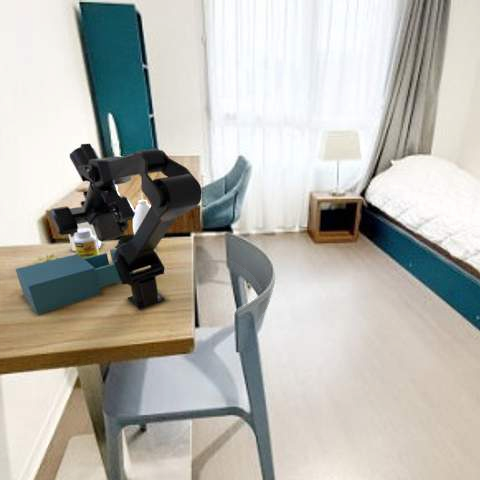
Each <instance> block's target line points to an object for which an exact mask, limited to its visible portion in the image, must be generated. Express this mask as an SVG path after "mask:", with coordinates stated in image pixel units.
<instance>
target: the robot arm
mask: <svg viewBox="0 0 480 480" xmlns="http://www.w3.org/2000/svg"><path fill="white" fill-rule="evenodd" d="M69 159H70V161H71V162H72V164H73V166H74V167H75V170H76V172H77V173H78V175H79V177H80V179H81V182H89V184H88V188H87V190H85V191H83V192H82V195H83V197H84V200H82V201H80V207H82V208H83V212H82V213H77V214H72V212H71V211H70V209H71V208H70V206H65V205H64V206H60V207H54V208H51V209H50V210H49V213H48V216H49V218H50V220H51V222H52V223H53V225H54V228H55V230H56V231H57V234H58V235H60V236H65V235H68V234H70V236H71V237H73V236H74V233H77V232H78V231H77V230H78V225H77V224H81V223H86V222H88V223H89V225H93V227H94V230H95V232H96V235H97V238H98V240H99V241H101V242H106V241H109V240H113V239H116V238H119V237H120V236H124V235H125V232H126V231H128V229H129V224H128V223H129V221H133V218H134V215H135V209H134V207H133V205H132V203H131V202H130V200H129V197H127V196H124V195H122V196H121V195H120V192H119V190H118V189H119V187H118V185H123V184H126V183H128V182H130V181H131V180H132V177H134V176H140V178H141V181H140V183H141V185H140V186H141V187H140V188H141V192H142V194H144V195H145V197H146V198H147V199H148V200H147V201H149V203H150V206H151V207H150V209H149V211H148V212H147V214H146V216H145V218H144V219H143V221H142V223H141V225H140V226H139V228H138V230H137V232H136V233H135V235H134V234H133V235H129V236H125V237H121V238H119V240H118V241H117V244H116V245H115V246H114V249H115V250H116V251H115V255H114V264H115V266H116V269H117V272H118V275H119V277H120V279H121V281H120V282H121V284H122V285H128V286H130V290H131V296H129V297H127V301H128V302H130V304H132V305H133V306H135V308H136V309H138V310H143V309H146V308H149V307H151V306H154V305H156V304H159V303H162V302H164V301H165V302H166V298H165V297H164V296H163V295H162V294H160V293H159V290H158V289H159V288H158V283H157V277H158V276H161V275H164V274H165V268H166V267H165V265H164V263H163V262H162V260H161V259H160V257H159V255H158V253H157V251H156V247H157V246H158V245H159V244H160V243H161V241H162V239H163V238H164V236H165V235H166V233H167V232H168V231H169V229H170V228H171V227H172V225H173V224H174V222H175V221H176V219H178V218H179V217H181V216H183V215H185V214H187V213H189V212H190V211H192V210H194V209H195V208H196V207H197V206H199V205H200V203H201V201H202V193H203V191H202V186H201V184H200V182H199V181H198V180H197V178H195V176H194V175H193V174H192V172H190V170H189V169H188V168H187V167H186V166H184V165H183V164H181V163H179V162H177V161H175V160H173V159H172V158H170V157H169V156H168V155H167V154H166V152H165V151H164V150H162V149H159V148H151V149H141V150H137V151H136V152H133V153H131V154H128V155H124V156H120V155H119V156H109V157H100V156H99V154H98V153H97V151H96V149H95V148H94V147H93V146H92V145H91V143H81V144H80V147H77V148H75V149H74V150H72V152H70V153H69ZM154 173H155V174H156V173H162V175H163V176H165V177H159V178H154V179H152V178H151V176H150V175H149V174H154ZM83 219H84V220H83ZM68 236H69V235H68ZM132 271H133V273H131V274H130V272H132Z"/></svg>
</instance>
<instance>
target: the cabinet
mask: <svg viewBox="0 0 480 480" xmlns="http://www.w3.org/2000/svg"><path fill="white" fill-rule="evenodd" d="M15 273H16V275H17V278H18V282H19V285H20V287H21V290H22V293H23V296H24V297H25V299H26V300H27V302H28V303H29V305H30V306H31V308H32V309H33V311H34V312H35V314H36V315H37V316H39V315H41V314H45V313H48V312H50V311H53V310H56V309H59V308H64V307H65V306H70V305H72V304H75V303H78V302H81V301H85V300H88V299H91V298H94V297H97V296H100V295H101V289H100V288H99V285H98V280H97V276H96V271H95V268H94V267H93V266H92V265H91V264H89V263H88V262H87V261H86V260H84V259H83V258H82V257H81V256H80V255H78V254H77V253H74V254H71V255H68V256H67V255H66V256H63V257H59V258H55V259H51V260H47V261H43V262H38V263H35V264H31V265H26V266H23V267H19V268H15Z"/></svg>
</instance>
